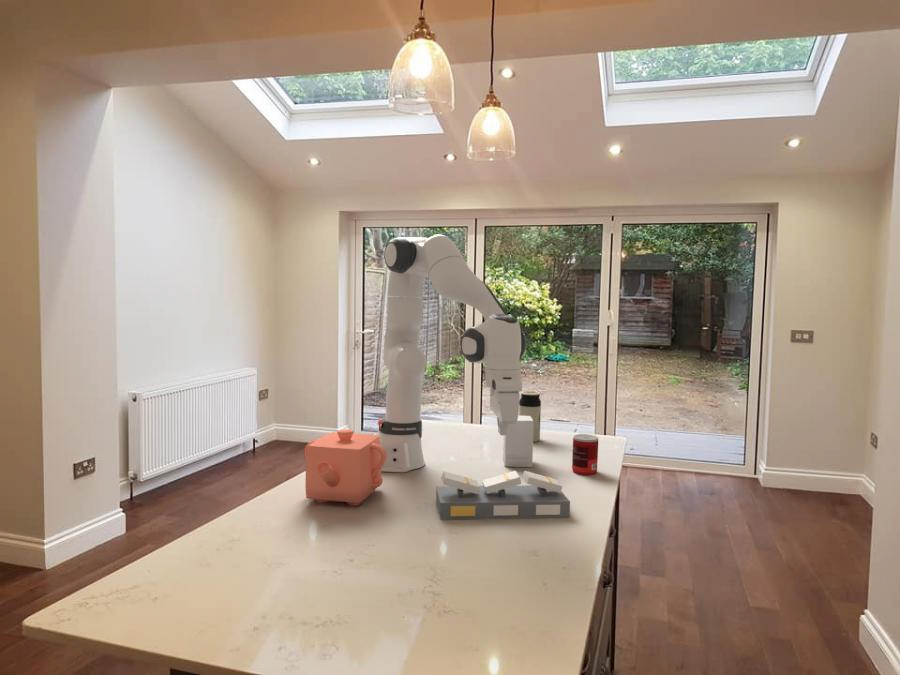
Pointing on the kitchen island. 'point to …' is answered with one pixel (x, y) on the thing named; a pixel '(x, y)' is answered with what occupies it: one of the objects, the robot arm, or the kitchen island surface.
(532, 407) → the travel mug
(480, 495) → the console
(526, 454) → the supplement box
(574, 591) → the kitchen island surface
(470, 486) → the rocker
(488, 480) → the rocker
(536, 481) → the block
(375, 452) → the teapot
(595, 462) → the canned food
